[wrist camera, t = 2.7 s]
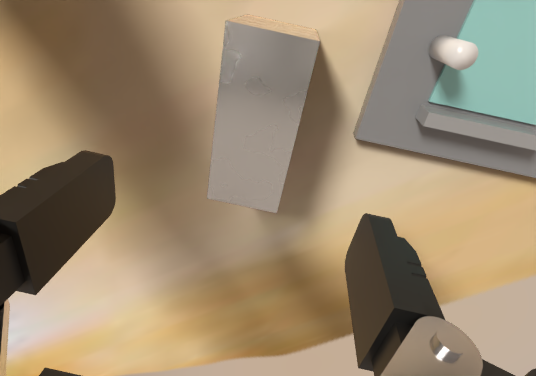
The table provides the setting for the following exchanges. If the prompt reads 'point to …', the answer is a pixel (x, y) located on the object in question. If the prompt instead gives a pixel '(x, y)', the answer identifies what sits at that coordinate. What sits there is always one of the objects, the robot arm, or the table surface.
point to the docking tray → (458, 83)
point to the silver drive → (259, 109)
